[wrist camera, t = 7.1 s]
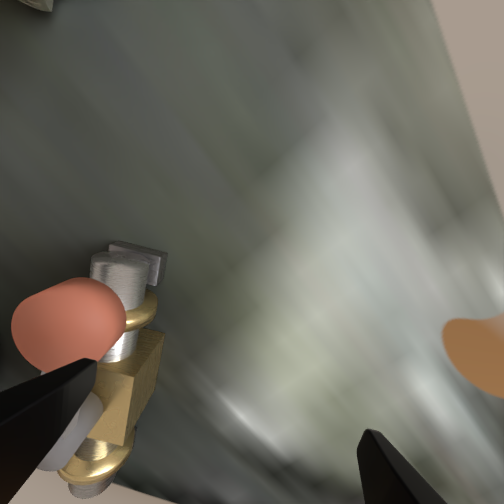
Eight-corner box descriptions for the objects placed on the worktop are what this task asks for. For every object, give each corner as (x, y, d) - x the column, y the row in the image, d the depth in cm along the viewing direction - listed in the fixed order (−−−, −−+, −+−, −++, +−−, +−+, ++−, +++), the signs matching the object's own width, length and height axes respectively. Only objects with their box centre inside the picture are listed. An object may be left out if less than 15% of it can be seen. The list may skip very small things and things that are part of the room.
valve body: (143, 448, 26) (107, 524, 20) (84, 434, 26) (31, 505, 20) (179, 256, 21) (146, 281, 15) (107, 237, 21) (46, 255, 15)
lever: (110, 431, 18) (72, 491, 14) (49, 412, 18) (-5, 467, 14) (146, 282, 15) (109, 310, 12) (74, 259, 15) (15, 280, 12)
